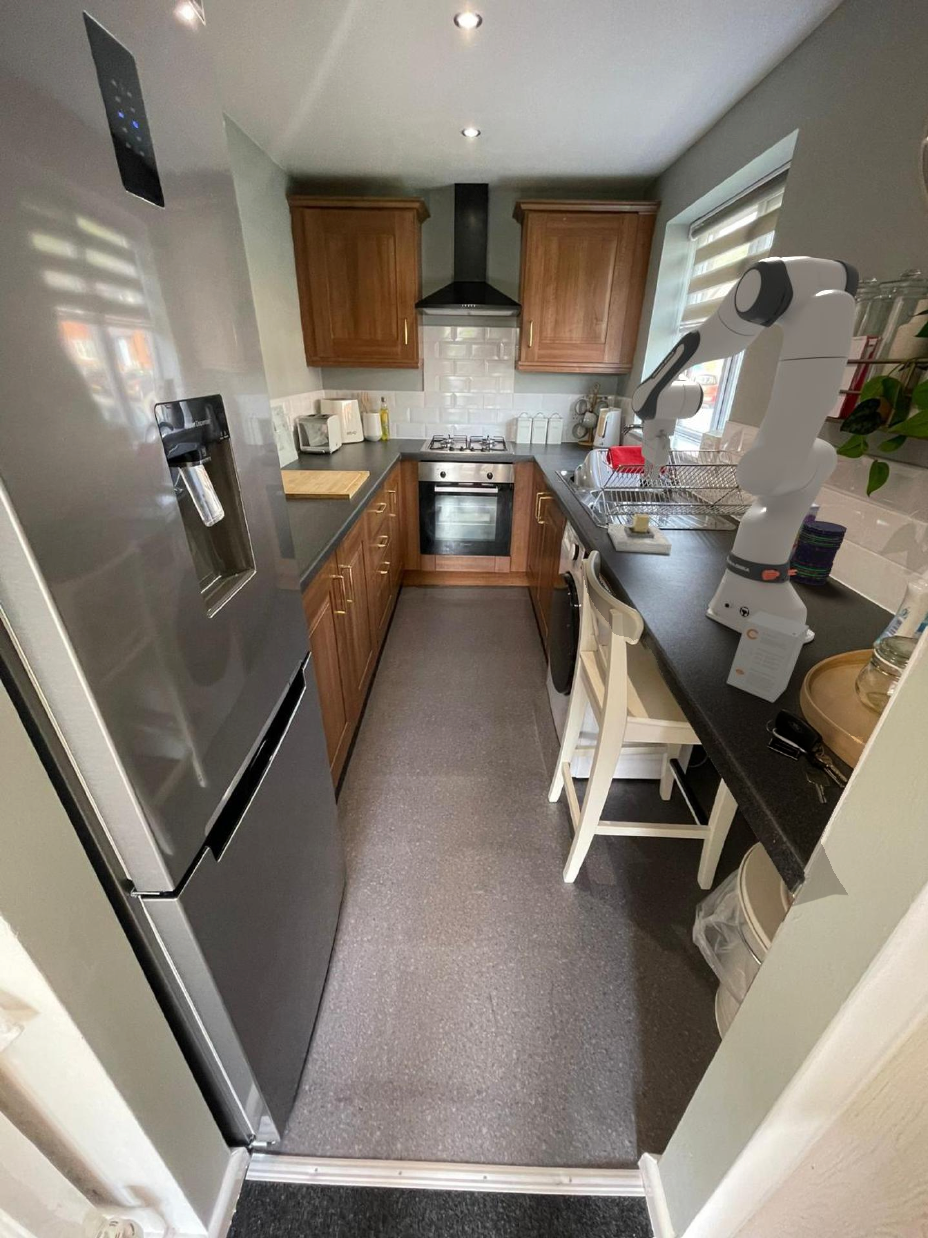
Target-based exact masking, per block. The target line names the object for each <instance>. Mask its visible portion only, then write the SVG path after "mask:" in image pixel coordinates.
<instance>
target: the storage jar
mask: <svg viewBox="0 0 928 1238" xmlns="http://www.w3.org/2000/svg"><path fill="white" fill-rule="evenodd" d="M847 530H848V528H847V527H845V526H844V525H841V524H838V523H833V522H829V521H825V520H824V521H823V520H815V521H805V522H804V524H803V527H802V529H801V531H800V534H799V538H798V541H797V543H798V544H797V547H796V550H795V552H794V555H793V556H792V558H791V561H790V563H789V564H790V570H797V571H796V572H792V573H795V574H796V575H790V579H791V580H793V581H795V582H798V583H802V584H805V585H815V586H816V585H817V586H820V585H825V584H826V583H827V581H828V580H827V579H828V578H829V576H830V575H831V572H832V568H833V567H834V566H833V565H834V560H835V558H836V555H837V553H838V551H840V548H841V545H842V543H843V541H844V537H845V535H846V534H845V533H846V532H847ZM790 579H789V580H790Z"/></svg>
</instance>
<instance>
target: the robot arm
mask: <svg viewBox="0 0 928 1238" xmlns="http://www.w3.org/2000/svg"><path fill="white" fill-rule="evenodd" d="M859 274H860V273H859V270H858V269H857V268H856V266H854V265H853V264H852V263H850V262H847V261H845V260H841V259H833V260H831V259H827V258H817V257H812V256H806V255H805V256H787V257H786V256H785V257H778V256H772V257H768V258H763V259H761V260H758V261H756V262H754V263H752V264H751V265H750V266H748V267H747V269H746V270H745V272H744V273H743V274H742V275H741V277H740V278H738V280H737V281H736V282H735V283H734V284H733V285H732V287H731V288H730V289H729V291H728V293H727V294H726V295H725V296H724V297H723V299H722V301H720V303H719V305H718V306H717V308H715V310H714V311H713V312H712V313H711V314H710V315H709V316H708V317H707V318H706V319H705V320H704V321H702V322H701V324H699V325H698V326H696V327H695V328H694V329H691V330H690V331H688V332H687V333H686V334H685V335H684V336H683V337H681V338H680V339H679V340H678V341H677V342H676V344H675V345H674V346H673V347H672V349H671V350H670V351H669V352H668V353H667V354H666V356H665V357H664V358H663V360H662V361H660V363H659V364H658V366H657V367H655V369H654V370H653V371H652V373H651V374H650V375H649V376H648V377H646V378H645V379H644V380H643V381H642V382H640V384H639V385H638V386H637V387H636V388H635V390H634V392H633V394H632V398H631V409H632V411H633V414H634V415H635V416H636V417H637V418H638V419H639V420H641V421H644V423H643V424H642V428H641V432H642V438H641V439H642V440H641V451H640V452H641V457H642V458H644V471H643V472H644V474H645V475H650V477H649V478H650V479H651V481H652V480H653V481H654V480H655V481H657V480H658V478H659V474H660V472H661V469H662V467H665V466H666V465H667V464H668V462H669V456H670V451H671V438H670V437H672V436H674V434H675V431H676V426H677V420H686V419H692V418H693V417H694V416H695V415H697V414H698V413H699V411H700V410H701V408H702V406H703V402H704V396H705V395H704V389H703V387H702V386H701V384H700V382H696V381H694V380H692V379H690V377H687V375H686V373H685V371H686V370H688V369H690V368H692V367H694V366H697V365H701V364H705V363H708V362H712V361H719V360H723V359H728V358H731V357H734V356H737V355H738V354H740V353H743V351H745V350H746V349H747V348H748V347H749V346H750V345H751V344H752V343H753V342H754V341H755V340H756V339H757V337H759V335H760V334H761V333H762V331H763V330H764V329H765V328H769V327H771V326H773V325H777V326H779V327H780V328H781V329H782V332H783V341H782V345H781V350H780V353H779V358H778V362H777V363H778V364H777V366H776V372H775V376H774V381H773V386H772V390H771V394H770V398H769V402H768V406H767V409H766V411H765V414H764V417H763V418H762V422H761V423H760V426H759V428H758V430H757V433H756V435H755V437H754V439H753V441H752V443H751V444H750V447H749V448H748V449H747V451H745V453H744V454H743V455H742V456H741V458H740V459H739V461H738V462H737V465H736V468H735V469H736V471H735V477H736V481H737V484H738V486H739V488H740V489H742V490H743V491H744V492H745V493H747V494H749V495H752V496H756V497H755V499H754V501H753V502H752V504H751V505H750V507H749V508H748V509H747V510H746V511H745V513H744V514H743V516H742V518H741V519H740V523H739V526H738V529H737V533H736V536H735V539H734V543H733V546H732V549H731V550H729V554H728V556H727V558H726V563H725V567H726V569H725V573H724V574H723V576H722V579H721V581H720V583H719V585H718V587H717V589H716V591H715V594H714V596H713V597H712V599H711V600H710V601H709V603H708V606H707V607H708V609H707V612H706V613H705V615H706V616H707V617H708V618H710V619H712V620H714V621H716V622H718V623H720V624H721V625H724V626H726V627H728V628H730V629H732V630H733V631H736V632H738V633H740V634H742V632H743V629H744V626H745V622H746V620H747V619H749V618H750V617H752V616H753V615H755V614H756V613H757V612H759V611H763V612H766V613H769V614H772V615H775V616H778V617H782V618H785V619H788V620H791V621H794V622H797V623H801V624H804V625H806V622H807V617H808V616H807V615H808V610H807V606H806V605H805V603H804V602H803V600H802V599H801V597H800V596H799V594H798V592H797V591H796V590H795V588H794V587H793V585H792V583H791V582H790V575H796V574H795V573H792V572H796V571H797V570H790V564H789V560H788V559H789V556H790V553H791V550H792V548H793V545H794V542H795V539H796V536H797V533H798V531H799V528H800V526H801V524H802V522H803V520H804V518H805V516H806V514H807V513H808V511H809V509H810V508H811V506H812V504H814V502H815V501H816V499H817V497H818V496H819V493H820V491H821V489H822V488H823V486H824V484H825V483H826V481H827V480H828V479H829V478H830V477H831V475H832V474H833V472H834V471H835V470H836V467H837V464H838V454H837V450H836V449H835V447H834V446H833V445H832V444H831V443H829V442H828V441H826V440H824V439H821V438H818V436H819V434H820V431H821V429H822V428H823V425H824V423H825V421H826V420H827V418H828V416H829V414H830V413H831V412H832V410H833V409H834V408H835V406H836V405H837V402H838V398H839V396H840V392H841V391H840V390H841V389H842V388H841V387H842V384H843V380H844V376H845V373H846V368H847V364H848V360H849V356H850V352H851V347H852V344H853V343H852V342H853V337H854V331H855V330H854V329H855V320H856V300H855V297H856V296H857V293H858V289H859V286H860V275H859ZM814 637H815V632H813V631H812V630H811V629H810V628H808V631H807V634H806V637H805V640H804V642H803V644H806V643H809V642H811V641H813V640H814Z"/></svg>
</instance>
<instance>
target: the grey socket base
mask: <svg viewBox="0 0 928 1238" xmlns="http://www.w3.org/2000/svg"><path fill="white" fill-rule="evenodd" d="M632 525H633V524H626V523H625V524H621V523H609V524H608V528H607V530H608V531H607V533H608V535H609V538H610V540H611V541H612V544H613V546H614V548H615V550H616V551H617V552H627V553H628V552H629V553H632V552H633V553H642V554H643V553H646V554H657V555H658V554H659V555H670V554H671V550H672V546H673V545H672V543H671V542H670V540H668V538H667V537H666V536H665V535H664V533H663V532H662V531H661V529H660V528H659V527H658V526H657V525H648V530H647V534H643V533H631V531H632Z"/></svg>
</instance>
